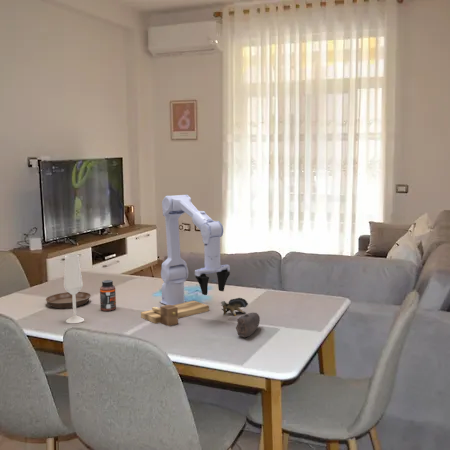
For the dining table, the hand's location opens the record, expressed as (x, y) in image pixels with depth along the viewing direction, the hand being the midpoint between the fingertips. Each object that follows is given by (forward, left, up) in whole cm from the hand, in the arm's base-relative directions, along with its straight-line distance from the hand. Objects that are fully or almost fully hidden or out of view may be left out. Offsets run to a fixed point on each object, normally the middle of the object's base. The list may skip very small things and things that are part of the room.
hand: (213, 292), depth 202 cm
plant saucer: (-57, -30, -10) cm, 65 cm away
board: (-15, -6, -10) cm, 19 cm away
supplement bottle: (-38, -22, -10) cm, 45 cm away
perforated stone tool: (+20, 0, -10) cm, 22 cm away
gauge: (-11, -14, -10) cm, 21 cm away
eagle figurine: (0, +10, -10) cm, 14 cm away
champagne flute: (-33, -38, -10) cm, 52 cm away
